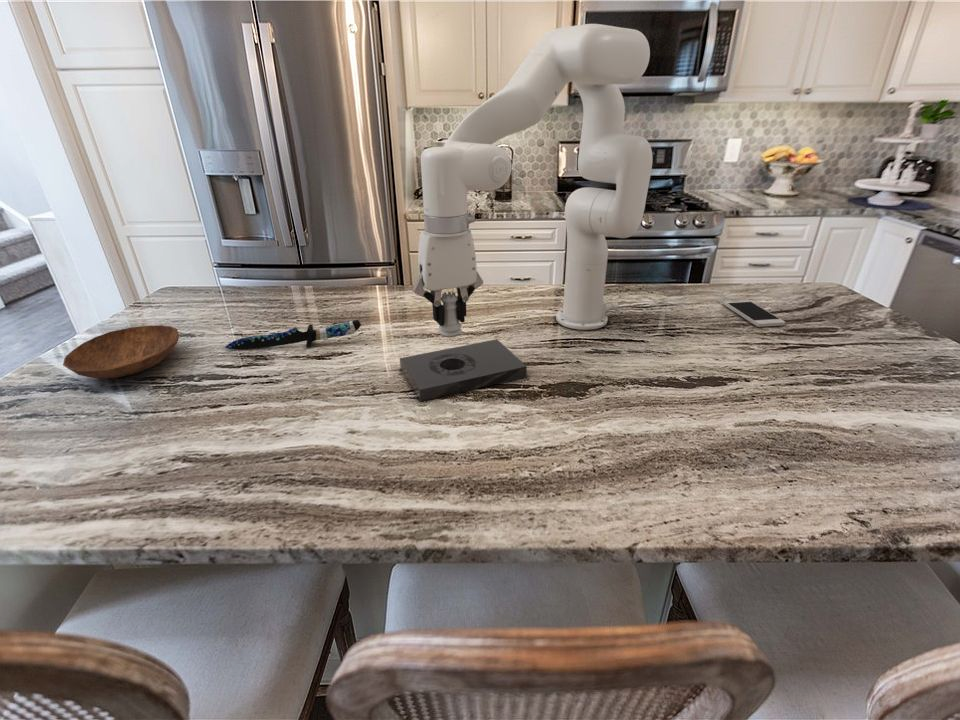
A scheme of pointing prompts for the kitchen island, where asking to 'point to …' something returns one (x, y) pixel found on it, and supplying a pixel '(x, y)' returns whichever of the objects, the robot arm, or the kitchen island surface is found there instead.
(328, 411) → the kitchen island surface
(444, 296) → the rook chess piece
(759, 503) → the kitchen island surface
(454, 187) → the robot arm
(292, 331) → the knife
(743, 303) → the smartphone
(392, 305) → the kitchen island surface
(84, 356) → the bowl
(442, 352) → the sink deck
